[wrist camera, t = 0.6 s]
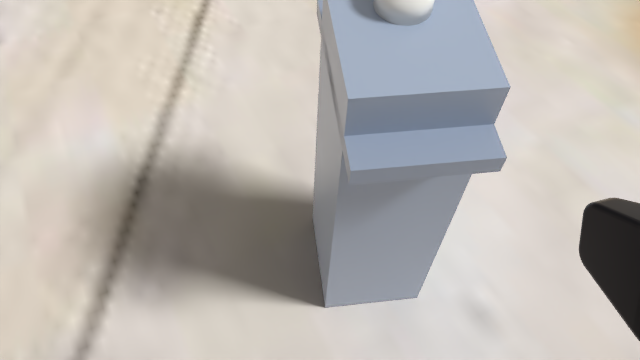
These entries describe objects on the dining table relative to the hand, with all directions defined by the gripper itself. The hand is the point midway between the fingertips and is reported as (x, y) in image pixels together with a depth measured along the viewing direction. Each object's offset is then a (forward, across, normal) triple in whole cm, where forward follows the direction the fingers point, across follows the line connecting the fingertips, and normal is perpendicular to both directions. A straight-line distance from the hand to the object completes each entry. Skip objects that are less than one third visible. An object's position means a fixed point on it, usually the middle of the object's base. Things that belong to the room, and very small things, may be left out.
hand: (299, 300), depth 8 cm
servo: (+14, -5, +10) cm, 18 cm away
